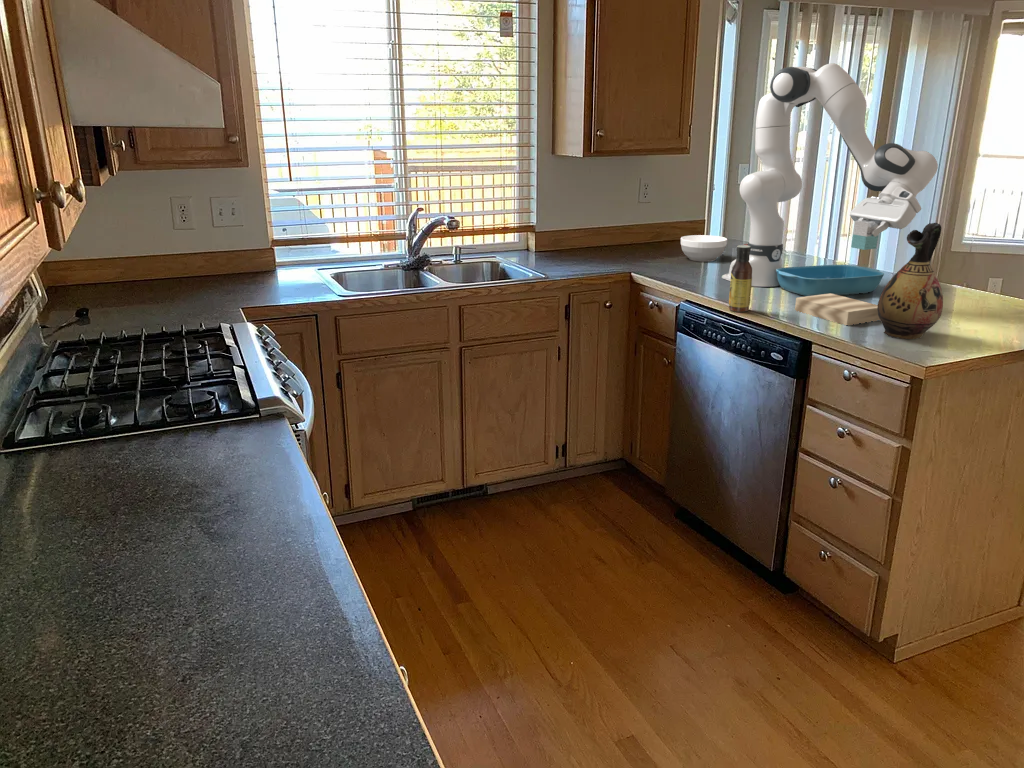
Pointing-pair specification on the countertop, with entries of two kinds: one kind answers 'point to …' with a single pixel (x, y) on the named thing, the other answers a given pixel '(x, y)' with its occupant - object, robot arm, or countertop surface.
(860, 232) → the white and teal block
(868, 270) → the casserole dish
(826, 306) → the wooden block
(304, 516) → the countertop surface
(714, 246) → the bowl
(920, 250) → the ceramic jug
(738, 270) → the sauce bottle
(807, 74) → the robot arm
